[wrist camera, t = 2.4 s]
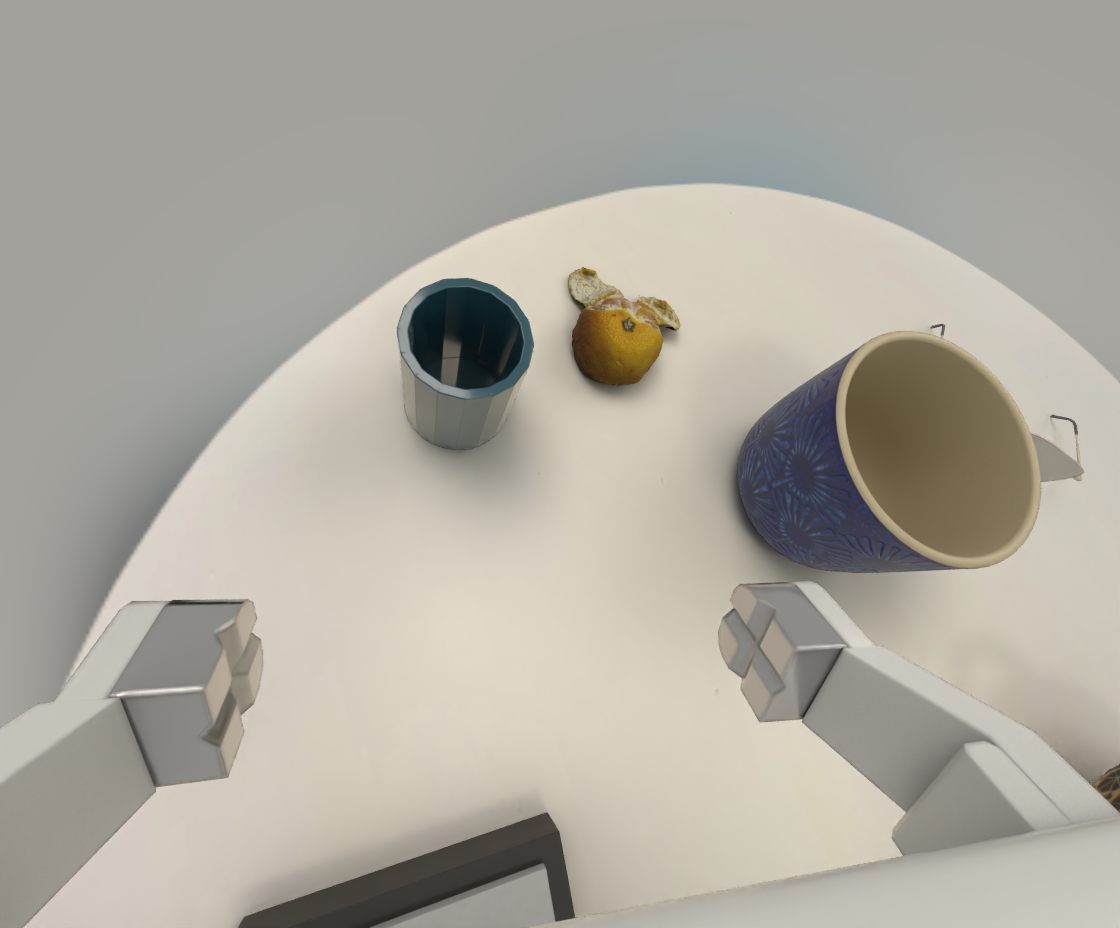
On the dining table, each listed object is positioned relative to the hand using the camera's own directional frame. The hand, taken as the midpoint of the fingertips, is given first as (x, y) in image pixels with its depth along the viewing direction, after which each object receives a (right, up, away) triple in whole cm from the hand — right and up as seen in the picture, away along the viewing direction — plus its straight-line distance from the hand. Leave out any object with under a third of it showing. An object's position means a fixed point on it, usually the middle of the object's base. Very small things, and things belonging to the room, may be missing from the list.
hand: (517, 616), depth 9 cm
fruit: (+5, +12, +27) cm, 30 cm away
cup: (-6, +6, +23) cm, 24 cm away
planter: (+17, +1, +27) cm, 32 cm away
